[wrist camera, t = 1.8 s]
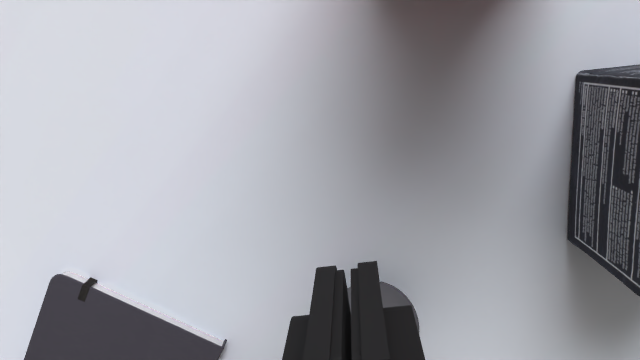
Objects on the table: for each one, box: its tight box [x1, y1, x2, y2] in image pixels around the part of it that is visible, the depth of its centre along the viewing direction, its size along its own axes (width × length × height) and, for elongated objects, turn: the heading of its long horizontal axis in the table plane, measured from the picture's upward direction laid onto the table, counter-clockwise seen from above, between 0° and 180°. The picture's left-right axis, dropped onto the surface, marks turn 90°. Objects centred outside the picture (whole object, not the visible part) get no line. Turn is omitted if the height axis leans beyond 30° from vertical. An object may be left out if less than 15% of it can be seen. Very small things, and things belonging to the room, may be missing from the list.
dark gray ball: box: [347, 282, 419, 333], centre depth 26 cm, size 6×6×6 cm
